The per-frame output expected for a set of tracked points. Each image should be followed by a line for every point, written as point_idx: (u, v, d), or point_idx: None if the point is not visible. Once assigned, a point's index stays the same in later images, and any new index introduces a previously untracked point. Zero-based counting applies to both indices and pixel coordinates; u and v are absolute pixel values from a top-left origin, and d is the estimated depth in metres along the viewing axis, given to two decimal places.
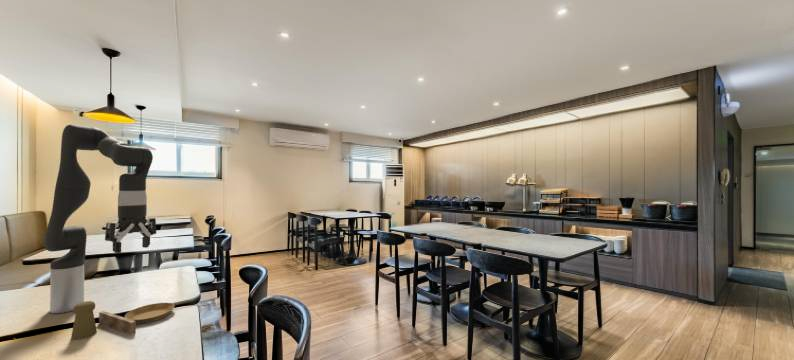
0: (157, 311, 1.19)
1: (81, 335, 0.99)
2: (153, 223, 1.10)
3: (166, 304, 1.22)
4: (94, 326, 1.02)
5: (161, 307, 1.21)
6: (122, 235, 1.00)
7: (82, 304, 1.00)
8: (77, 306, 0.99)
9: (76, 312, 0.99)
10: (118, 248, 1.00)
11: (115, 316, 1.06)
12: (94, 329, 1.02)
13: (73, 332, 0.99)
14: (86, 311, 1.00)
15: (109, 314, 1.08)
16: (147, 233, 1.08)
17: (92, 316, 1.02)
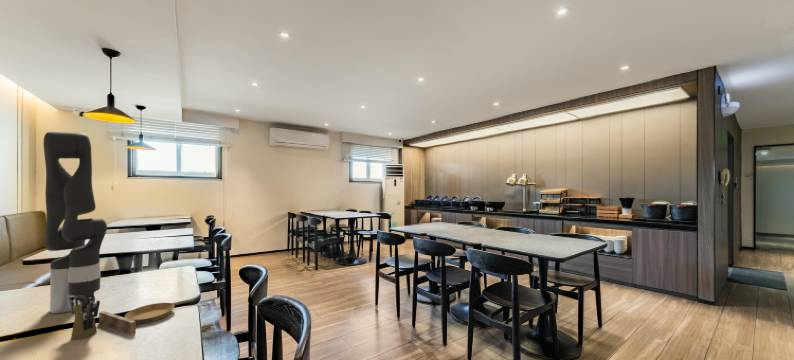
0: (157, 311, 1.19)
1: (81, 335, 0.99)
2: None
3: (166, 304, 1.22)
4: (94, 326, 1.02)
5: (161, 307, 1.21)
6: None
7: None
8: (77, 306, 0.99)
9: (76, 312, 0.99)
10: (91, 324, 1.01)
11: (115, 316, 1.06)
12: (94, 329, 1.02)
13: (73, 332, 0.99)
14: None
15: (109, 314, 1.08)
16: None
17: None
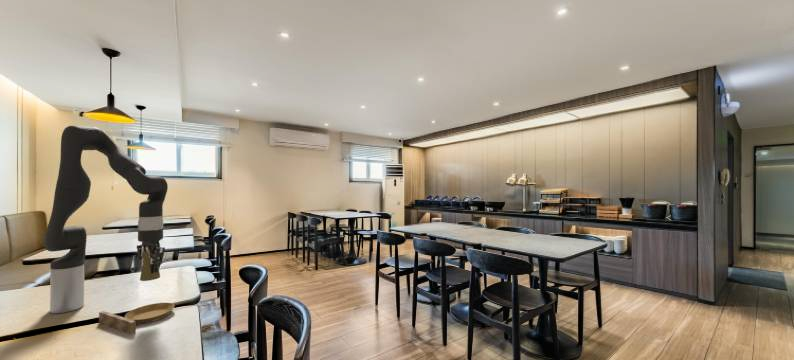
0: (157, 311, 1.19)
1: (149, 277, 1.12)
2: None
3: (166, 304, 1.22)
4: (158, 271, 1.16)
5: (161, 307, 1.21)
6: None
7: None
8: (145, 252, 1.13)
9: (144, 257, 1.12)
10: None
11: (115, 316, 1.06)
12: (158, 273, 1.16)
13: (142, 274, 1.12)
14: None
15: (109, 314, 1.08)
16: None
17: None
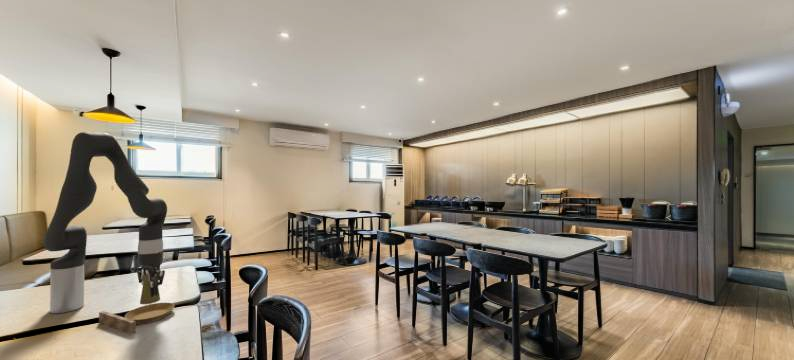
0: (157, 311, 1.19)
1: (149, 300, 1.12)
2: None
3: (166, 304, 1.22)
4: (158, 293, 1.16)
5: (161, 307, 1.21)
6: None
7: None
8: (145, 275, 1.13)
9: (144, 280, 1.12)
10: None
11: (115, 316, 1.06)
12: (158, 296, 1.16)
13: (142, 298, 1.12)
14: None
15: (109, 314, 1.08)
16: None
17: None
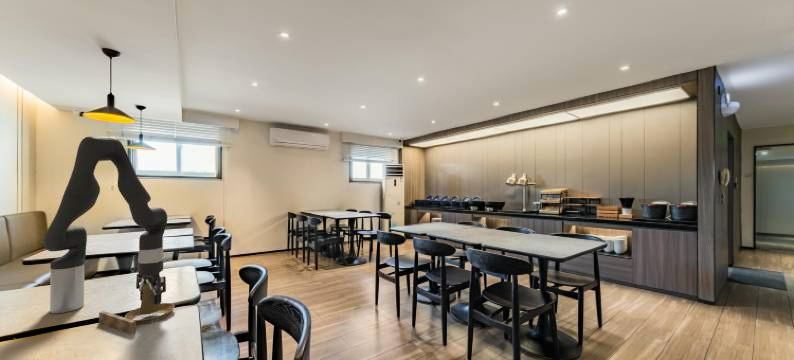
0: (157, 311, 1.19)
1: (148, 310, 1.12)
2: None
3: (166, 304, 1.22)
4: None
5: (161, 307, 1.21)
6: None
7: None
8: (145, 285, 1.13)
9: (144, 290, 1.12)
10: (160, 298, 1.14)
11: (115, 316, 1.06)
12: (158, 306, 1.16)
13: (141, 308, 1.12)
14: None
15: (109, 314, 1.08)
16: None
17: None
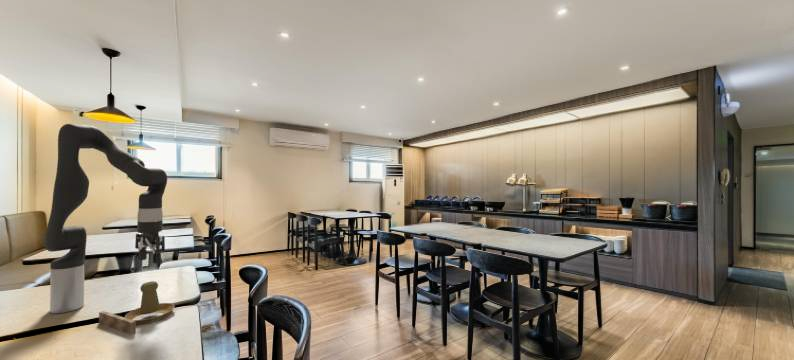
0: (157, 311, 1.19)
1: (148, 310, 1.12)
2: None
3: (166, 304, 1.22)
4: (158, 303, 1.16)
5: (161, 307, 1.21)
6: None
7: (147, 283, 1.14)
8: (143, 285, 1.13)
9: (143, 290, 1.12)
10: (159, 258, 1.15)
11: (115, 316, 1.06)
12: (158, 306, 1.15)
13: (141, 308, 1.12)
14: (151, 289, 1.13)
15: (109, 314, 1.08)
16: None
17: (156, 294, 1.15)
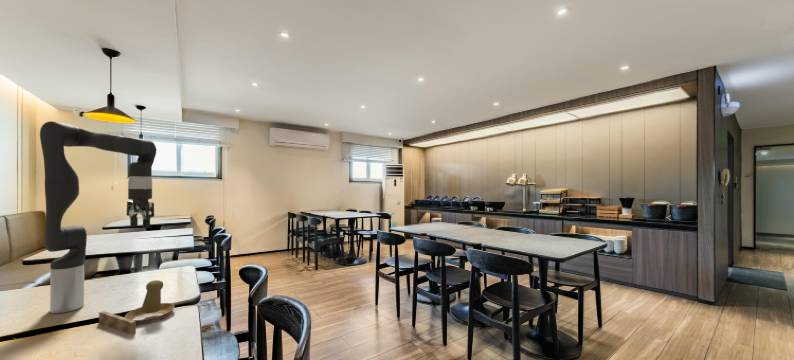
0: (157, 311, 1.19)
1: (148, 310, 1.12)
2: None
3: (166, 304, 1.22)
4: (159, 303, 1.16)
5: (161, 307, 1.21)
6: (149, 213, 1.22)
7: (153, 283, 1.14)
8: (149, 284, 1.13)
9: (148, 289, 1.13)
10: (149, 223, 1.22)
11: (115, 316, 1.06)
12: (159, 306, 1.15)
13: (143, 306, 1.13)
14: (155, 289, 1.13)
15: (109, 314, 1.08)
16: None
17: (159, 294, 1.15)
